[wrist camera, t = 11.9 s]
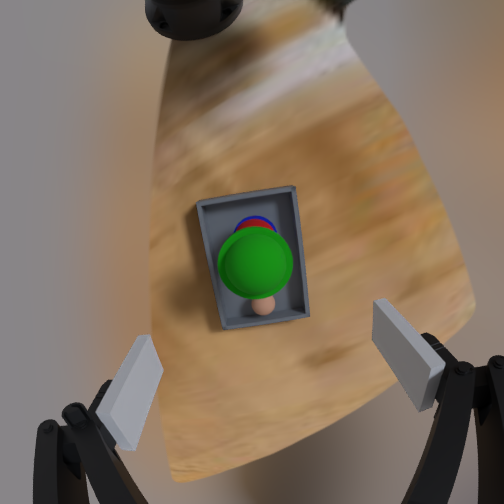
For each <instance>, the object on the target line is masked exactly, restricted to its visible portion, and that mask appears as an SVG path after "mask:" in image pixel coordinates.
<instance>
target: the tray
mask: <svg viewBox="0 0 504 504" xmlns="http://www.w3.org/2000/svg"><path fill="white" fill-rule="evenodd" d="M196 205H197V211H198V216H199V221H200V226H201V231H202V237H203V242H204V246H205V251H206V256H207V261H208V266H209V270H210V275H211V280H212V284H213V289H214V293H215V298H216V302H217V307H218V311H219V315H220V319H221V324H222V328H223V330H228V329H235V328H243V327H250V326H257V325H263V324H270V323H276V322H282V321H288V320H294V319H300V318H305V317H310V310H309V299H308V288H307V278H306V268H305V259H304V250H303V241H302V232H301V224H300V216H299V209H298V201H297V194H296V187H295V186H293V185H290V186H283V187H276V188H269V189H262V190H256V191H249V192H243V193H237V194H231V195H225V196H220V197H214V198H208V199H203V200H199V201H197V202H196ZM255 215H256V216H262V217H265V218H267V219H268V220H270V221H271V222H272V223H273V225H274V226H275V228H276V230H277V233H278V234H279V235H280V236H281V237H282V238H283V239H284V240H285V241H286V243H287V244H288V246H289V248H290V250H291V253H292V257H293V269H292V273H291V276H290V278H289V280H288V282H287V283H286V285H285V286H284V287H283V288H282V289H281V290H280V291H279V292H277V293H276V294H274V295H272V296H273V297H274V299H275V308H274V310H273V311H272V312H271V313H270V314H268V315H259V314H257V313H256V312H254V310H253V308H252V305H251V302H252V299H247V298H243V297H240V296H238V295H236V294H234V293H233V292H231V291H230V290H229V289H228V288H227V287H226V286H225V285H224V283H223V282H222V280H221V278H220V275H219V272H218V256H219V252H220V250H221V247H222V245H223V244H224V242H225V241H226V240H227V238H228V237H229V236H231V235H232V234H233V233H234V230H235V228H236V226H237V224H238V223H239V222H240V221H241V220H243V219H244V218H246V217H249V216H255Z"/></svg>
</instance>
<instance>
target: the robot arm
mask: <svg viewBox="0 0 504 504" xmlns="http://www.w3.org/2000/svg"><path fill="white" fill-rule="evenodd" d="M242 6H243V0H145V13H146V16H147V19H148V21H149V23H150V24H151V26H152V27H153V28H154V29H155V31H157V32H158V33H159V34H161V35H162V36H165V37H167V38H170V39H175V40H196V39H201V38H205V37H208V36H211V35H214V34H216V33H218V32H220V31H222V30H223V29H225V28H226V27H228V26H229V25H230V24H231V23H232V22H233V21H234V20H235V19H236V18H237V17H238V15H239V14H240V12H241V9H242ZM372 340H373V342H374V343H375V345H376V346H377V348H378V349H379V351H380V352H381V354H382V355H383V357H384V358H385V360H386V362H387V363H388V365H389V366H390V368H391V369H392V371H393V372H394V374H395V375H396V377H397V378H398V380H399V382H400V383H401V385H402V386H403V388H404V389H405V391H406V393H407V394H408V396H409V397H410V399H411V401H412V402H413V404H414V405H415V407H416V409H417V410H418V412H421V411H424V410H426V409H428V408H431V407H432V406H433V403H434V400H435V399H436V400H437V402H438V403H439V405H438V408H437V410H436V413H435V415H434V421H433V425H432V428H431V431H430V434H429V437H428V440H427V443H426V446H425V449H424V451H423V454H422V457H421V460H420V462H419V465H418V467H417V470H416V472H415V474H414V477H413V479H412V481H411V484H410V486H409V488H408V490H407V492H406V495H405V497H404V499H403V501H402V503H401V504H447V503H448V500H449V497H450V494H451V492H452V489H453V486H454V482H455V479H456V476H457V473H458V469H459V466H460V462H461V458H462V454H463V450H464V446H465V441H466V437H467V432H468V427H469V421H470V415H471V409H472V408H473V409H474V416H475V425H476V434H477V446H478V447H477V448H478V472H479V474H478V475H479V476H478V477H479V478H478V481H479V482H478V504H504V356H501V355H496V356H493V357H491V358H490V359H489V361H488V364H487V366H481V367H474V366H473V365H472V364H470V363H468V362H464V361H461V362H458V361H457V359H456V358H455V357H454V356H453V355H452V354H451V353H450V352H449V351H448V350H447V349H446V348H445V347H444V346H443V345H442V344H441V343H440V342H439V340H438V339H437V338H436V337H435V336H433V335H431V334H429V333H427V332H426V333H423V334H419V333H418V332H417V331H416V330H415V329H414V328H413V327H412V326H411V324H410V323H409V322H408V321H407V320H406V319H405V318H404V317H403V316H402V315H401V314H400V313H399V312H398V311H397V310H396V309H395V308H394V307H393V306H392V305H391V304H390V303H389V302H388V301H387V300H386V298H383V299H379V300H374V301H373V329H372ZM163 371H164V370H163V368H162V365H161V363H160V360H159V358H158V355H157V353H156V350H155V347H154V345H153V342H152V339H151V336H150V334H149V335H139V336H138V337H137V339H136V341H135V342H134V344H133V345H132V347H131V349H130V351H129V353H128V354H127V356H126V358H125V359H124V361H123V363H122V365H121V366H120V368H119V370H118V372H117V373H116V375H115V377H114V379H113V380H107V381H106V382H105V383H104V384H103V385H102V386H101V388H100V390H99V392H98V394H97V395H96V397H95V399H94V400H93V402H92V404H91V406H90V407H89V409H88V411H87V409H86V408H85V406H84V405H83V404H82V403H77V402H75V403H72V404H70V405H68V406H66V407H65V408H64V409H63V411H62V418H63V419H64V420H65V422H66V423H67V426H59V425H58V423H57V422H56V421H55V420H52V419H51V420H46V421H44V422H43V423H41V424H40V425H39V427H38V431H37V438H36V448H35V458H34V474H33V504H90V503H89V497H88V490H87V482H86V474H87V476H88V479H89V481H90V484H91V486H92V488H93V490H94V492H95V495H96V497H97V499H98V501H99V503H100V504H148V502H147V501H146V499H145V498H144V496H143V495H142V493H141V492H140V490H139V489H138V487H137V485H136V484H135V482H134V481H133V479H132V478H131V476H130V474H129V472H128V471H127V469H126V467H125V466H124V464H123V462H122V461H121V459H120V457H119V455H118V453H117V451H116V450H115V449H114V448H115V445H116V443H117V444H118V445H119V447H120V448H121V449H122V450H130V451H135V450H136V447H137V444H138V441H139V438H140V435H141V433H142V430H143V426H144V424H145V421H146V418H147V415H148V412H149V409H150V407H151V403H152V401H153V398H154V395H155V392H156V390H157V387H158V384H159V381H160V379H161V376H162V373H163ZM85 472H86V473H85Z"/></svg>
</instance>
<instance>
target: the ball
mask: <svg viewBox="0 0 504 504" xmlns="http://www.w3.org/2000/svg"><path fill="white" fill-rule="evenodd" d="M251 305H252V308H253V310H254V312H256V313H257V314H259V315H268V314H270V313H271V312H272V311H273V310H274V308H275V299H274V297H273V296H270V297H267V298H263V299H252V302H251Z"/></svg>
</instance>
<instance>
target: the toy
mask: <svg viewBox="0 0 504 504" xmlns="http://www.w3.org/2000/svg"><path fill="white" fill-rule="evenodd" d="M292 269H293V257H292V253H291V250H290V248H289V246H288V244H287V243H286V241H285V240H284V239H283V238H282V237H281V236H280V235H279V234H278V233H277V230H276V228H275V226H274V225H273V223H272V222H271V221H270V220H268V219H267V218H265V217H262V216H256V215H255V216H249V217H246V218H244V219H243V220H241V221H240V222H239V223H238V224H237V226H236V228H235V230H234V233H233V234H232V235H231V236H229V237H228V238H227V240H226V241H225V242H224V244H223V245H222V247H221V250H220V252H219V256H218V272H219V275H220V278H221V280H222V282H223V283H224V285H225V286H226V287H227V288H228V289H229V290H230V291H231V292H233V293H234V294H236V295H238V296H240V297H243V298H247V299H263V298H267V297H270V296H272V295H274V294H276V293H277V292H279V291H280V290H281V289H282V288H283V287H284V286H285V285H286V283H287V282H288V280H289V278H290V276H291V273H292Z"/></svg>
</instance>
